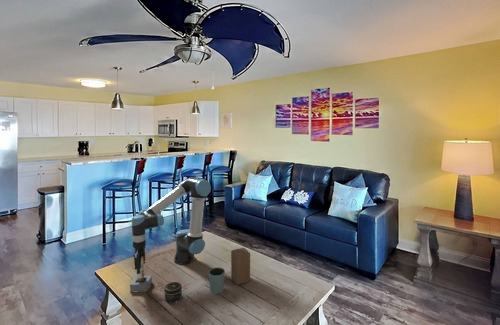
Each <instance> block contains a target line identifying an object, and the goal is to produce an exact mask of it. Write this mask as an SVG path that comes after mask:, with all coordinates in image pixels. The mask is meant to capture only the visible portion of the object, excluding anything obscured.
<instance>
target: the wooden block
mask: <svg viewBox="0 0 500 325" xmlns="http://www.w3.org/2000/svg"><path fill="white" fill-rule="evenodd" d="M230 252H231V253H230V256H231V257H230V258H231V259H230V263H231V264H230V267H231V268H230V269H231V270H230V271H231V272H230V274H231V276H230V277H231V279H232V280H233V282H234V283H235V284H236V285H241V284H245V283H249V282H250V281H251V252H249V251H248V250H247V249H246V248H245V247H240V248H236V249H232V250H231V251H230Z"/></svg>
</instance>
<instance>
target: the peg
mask: <svg viewBox="0 0 500 325" xmlns="http://www.w3.org/2000/svg"><path fill="white" fill-rule="evenodd" d="M144 262H145V261H144ZM144 262H143V256H142V257H141V271H142V278H137V282H138V283H140V282H144V276H145V264H144Z"/></svg>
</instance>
